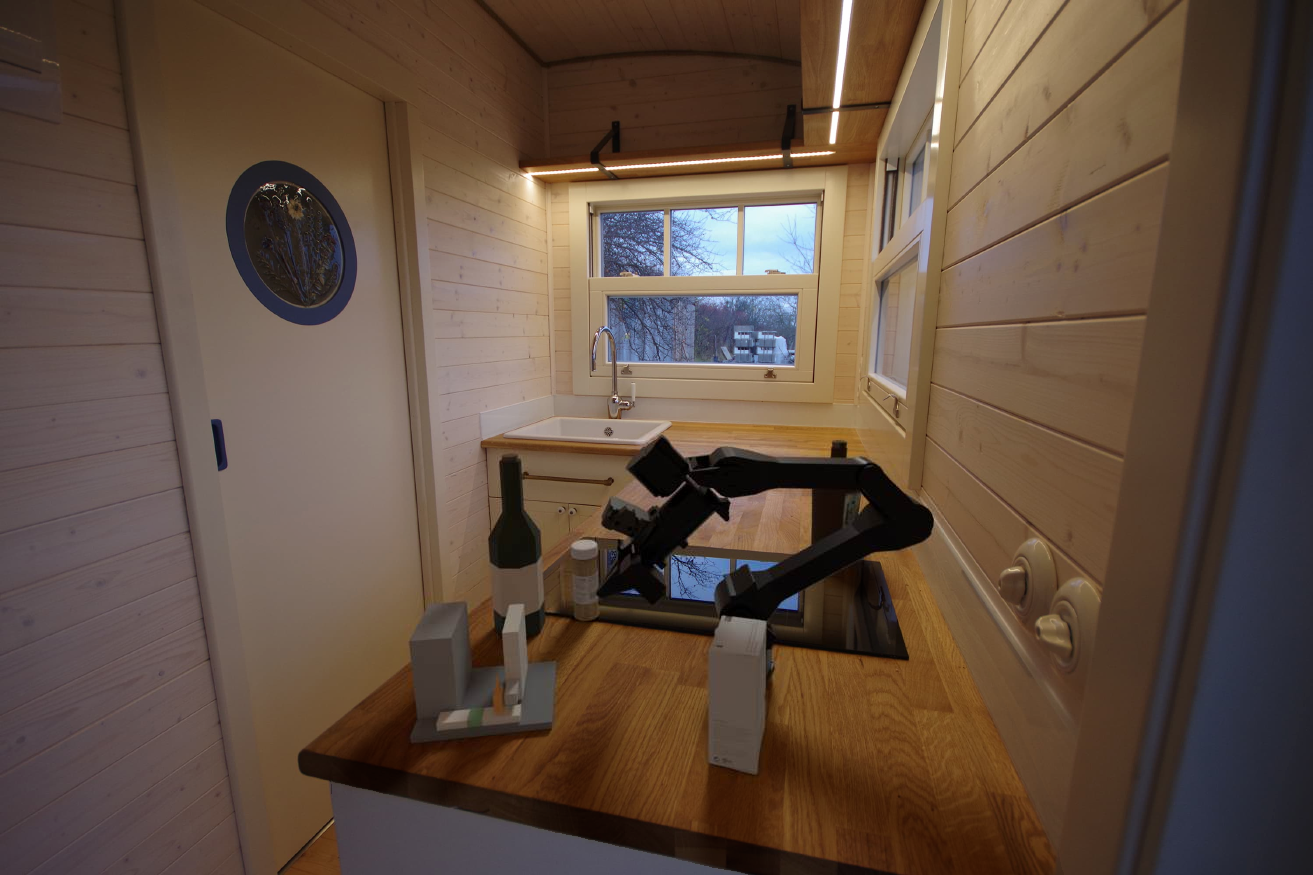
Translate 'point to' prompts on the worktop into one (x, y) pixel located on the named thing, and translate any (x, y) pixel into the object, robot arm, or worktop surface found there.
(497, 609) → the wine bottle
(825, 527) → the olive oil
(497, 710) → the orange block with rod
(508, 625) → the white tall block
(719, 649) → the skincare box
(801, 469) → the robot arm
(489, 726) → the base
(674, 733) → the worktop surface
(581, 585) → the sprinkles bottle
